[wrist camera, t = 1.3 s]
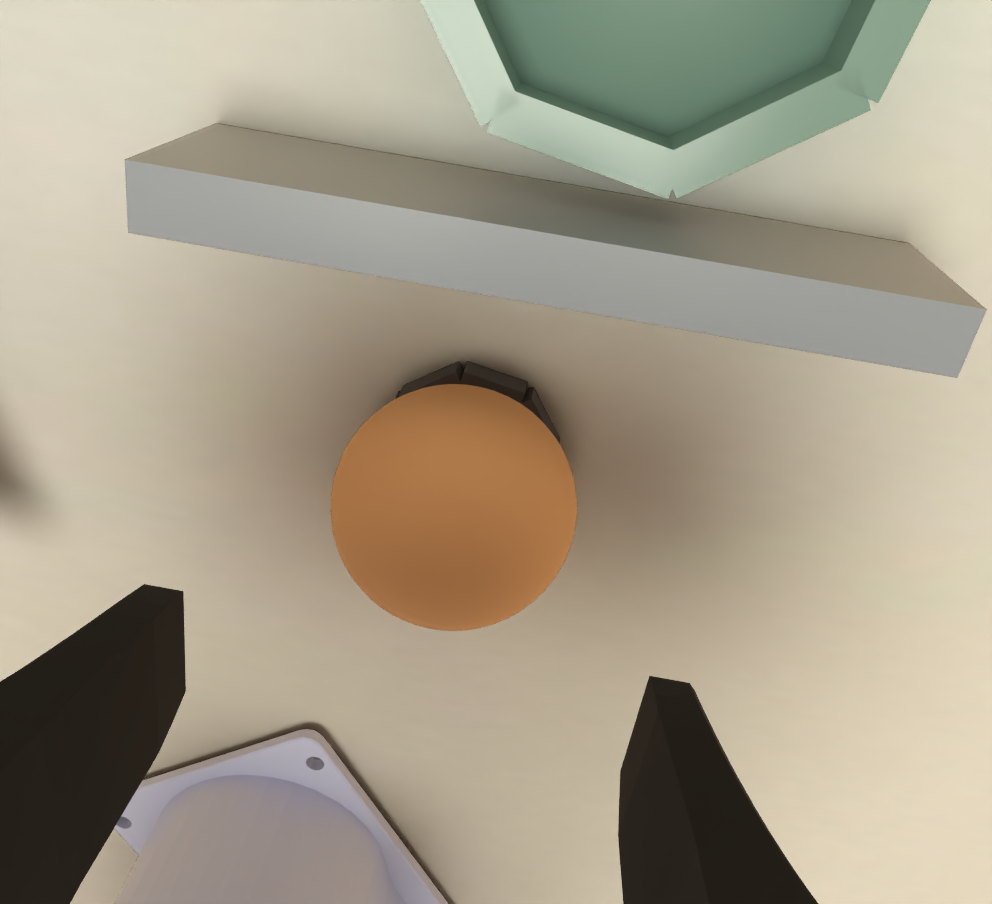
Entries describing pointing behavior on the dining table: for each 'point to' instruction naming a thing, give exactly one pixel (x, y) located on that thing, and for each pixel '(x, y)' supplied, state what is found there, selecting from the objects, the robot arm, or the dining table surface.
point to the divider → (554, 246)
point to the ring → (484, 386)
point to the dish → (670, 77)
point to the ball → (453, 507)
